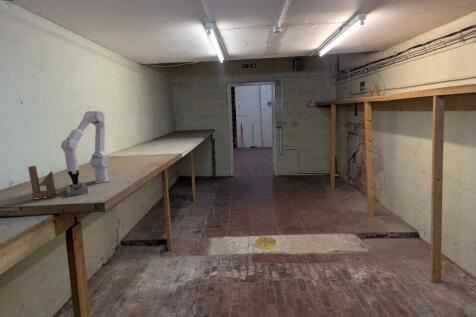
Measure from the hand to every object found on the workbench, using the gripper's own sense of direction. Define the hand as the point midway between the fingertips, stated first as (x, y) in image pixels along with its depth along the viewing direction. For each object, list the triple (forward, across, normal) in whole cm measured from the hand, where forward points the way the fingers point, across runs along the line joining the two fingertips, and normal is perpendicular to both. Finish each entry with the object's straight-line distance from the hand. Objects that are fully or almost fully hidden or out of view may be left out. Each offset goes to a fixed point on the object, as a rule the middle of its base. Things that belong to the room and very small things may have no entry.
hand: (75, 183), depth 193 cm
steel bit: (+2, 0, 0) cm, 2 cm away
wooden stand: (+4, +4, -16) cm, 17 cm away
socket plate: (+4, +3, 0) cm, 5 cm away
